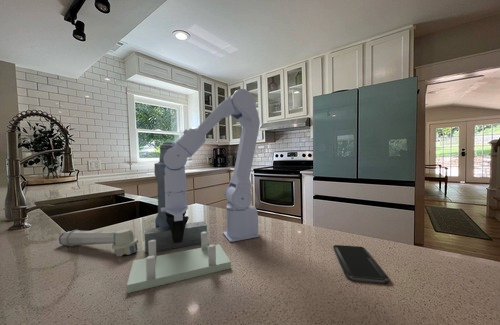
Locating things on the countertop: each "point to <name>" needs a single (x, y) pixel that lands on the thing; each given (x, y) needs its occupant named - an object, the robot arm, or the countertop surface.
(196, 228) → the steel bar
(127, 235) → the pale grey handled tool
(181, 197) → the robot arm
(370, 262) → the phone
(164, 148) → the bottle
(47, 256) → the countertop surface
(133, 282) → the peg rack
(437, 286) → the countertop surface
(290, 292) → the countertop surface
